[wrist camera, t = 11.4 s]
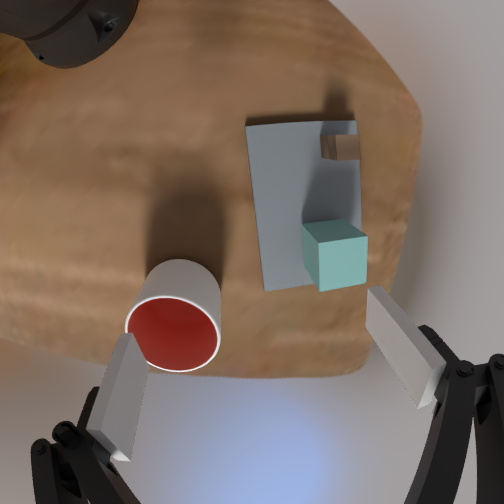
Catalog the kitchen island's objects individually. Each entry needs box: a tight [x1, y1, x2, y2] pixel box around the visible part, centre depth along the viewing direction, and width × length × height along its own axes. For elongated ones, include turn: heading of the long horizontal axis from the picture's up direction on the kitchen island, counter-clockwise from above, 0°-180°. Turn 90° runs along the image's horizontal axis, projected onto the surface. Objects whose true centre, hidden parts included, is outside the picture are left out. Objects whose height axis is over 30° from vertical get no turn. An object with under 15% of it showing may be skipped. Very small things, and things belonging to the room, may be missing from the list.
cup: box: [125, 259, 221, 372], centre depth 33 cm, size 10×10×10 cm
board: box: [245, 121, 361, 291], centre depth 34 cm, size 20×13×1 cm, turn 7°
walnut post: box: [320, 134, 361, 161], centre depth 29 cm, size 3×3×5 cm
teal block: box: [301, 219, 368, 292], centre depth 31 cm, size 5×5×7 cm
